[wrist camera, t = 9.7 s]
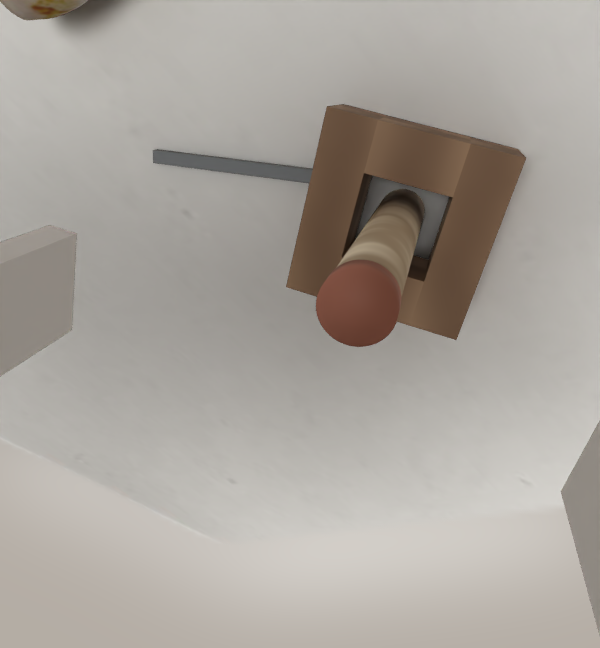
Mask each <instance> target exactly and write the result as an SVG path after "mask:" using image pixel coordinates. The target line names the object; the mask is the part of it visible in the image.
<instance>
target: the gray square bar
mask: <svg viewBox="0 0 600 648" xmlns="http://www.w3.org/2000/svg"><path fill="white" fill-rule="evenodd" d="M153 163H158V164H165V165H173V166H181V167H188V168H196V169H204V170H211V171H219V172H227V173H234V174H242V175H250V176H257V177H265V178H273V179H280V180H288V181H296V182H303V183H310V179H311V175H312V170H313V169H310V168H302V167H294V166H286V165H278V164H270V163H262V162H254V161H246V160H238V159H230V158H222V157H214V156H206V155H198V154H190V153H182V152H174V151H166V150H158V149H157V150H153Z"/></svg>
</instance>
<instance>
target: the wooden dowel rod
mask: <svg viewBox="0 0 600 648" xmlns="http://www.w3.org/2000/svg"><path fill="white" fill-rule="evenodd" d="M424 213H425V209H424V204H423V202H422V200H421V198H420V197H419V196H418V195H417V194H416V193H415V192H413V191H410V190H407V189H398V190H394V191H392V192H390V193H389V194H388V195H386V196H385V198H384V199H383V200H382V202H381V203H380V205H379V206H378V208H377V209H376V211H375V212H374V213H373V215H372V216H371V218H370V219H369V221H368V222H367V224H366V225H365V227H364V228H363V229H362V231H361V232H360V234H359V235H358V237H357V238H356V240H355V241H354V243H353V244H352V246H351V247H350V248H349V250H348V251H347V253H346V254H345V256H344V257H343V259H342V260H341V262H340V263H339V264H338V266H337V267H336V268H335V269H334V270H333V271H332V272H331V274H330V275H329V276H328V278H327V279H326V281H325V282H324V283H323V285H322V286H321V288H320V290H319V292H318V295H317V300H316V311H317V316H318V319H319V321H320V323H321V325H322V327H323V328H324V330H325V331H326V332H327V333H328V334H329V335H330V336H331V337H333V338H334V339H335V340H337V341H339V342H341V343H343V344H346V345H349V346H356V347H363V346H369V345H373V344H376V343H378V342H380V341H381V340H383V339H384V338H385V337H387V336H388V335H389V334H390V332H391V331H392V330H393V328H394V326H395V324H396V321H397V318H398V314H399V311H400V307H401V297H402V294H403V290H404V286H405V283H406V279H407V276H408V272H409V268H410V265H411V261H412V258H413V254H414V250H415V247H416V243H417V240H418V236H419V232H420V229H421V225H422V222H423V218H424Z"/></svg>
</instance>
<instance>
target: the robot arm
mask: <svg viewBox="0 0 600 648" xmlns="http://www.w3.org/2000/svg"><path fill="white" fill-rule="evenodd" d="M76 240H77V233H74V232H70V231H67V230H64V229H61V228H57V227H54V226H51V225H48V226H45V227H43V228H40V229H37V230H34V231H31V232H28V233H25V234H23V235H20V236H17V237H14V238H11V239H8V240H5V241H3V242H0V376H2V375H3V374H5V373H6V372H8V371H9V370H11V369H13V368H14V367H16V366H17V365H19V364H20V363H22V362H23V361H25V360H26V359H28V358H30V357H31V356H33V355H34V354H36V353H37V352H39V351H40V350H42V349H43V348H45V347H47V346H48V345H50V344H51V343H53V342H54V341H56V340H57V339H59V338H60V337H62V336H64V335H65V334H67V333H68V332H70V331H71V330H72V320H73V300H74V280H75V260H76ZM561 494H562V498H563V501H564V505H565V509H566V513H567V516H568V520H569V524H570V527H571V531H572V535H573V539H574V542H575V546H576V550H577V553H578V557H579V561H580V565H581V568H582V572H583V576H584V579H585V583H586V587H587V591H588V594H589V598H590V602H591V605H592V609H593V613H594V617H595V620H596V624H597V628H598V631H599V635H600V421H599V423H598V425H597V426H596V428H595V430H594V432H593V434H592V436H591V437H590V439H589V441H588V443H587V445H586V447H585V448H584V450H583V452H582V454H581V456H580V457H579V459H578V461H577V463H576V465H575V467H574V468H573V470H572V472H571V474H570V476H569V478H568V479H567V481H566V483H565V485H564V487H563V489H562V490H561Z"/></svg>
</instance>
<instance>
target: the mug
mask: <svg viewBox="0 0 600 648" xmlns="http://www.w3.org/2000/svg"><path fill="white" fill-rule="evenodd" d="M87 1H88V0H0V2H1V3H2V4H3V5H4V6H5V7H6V8H7V9H8V10H9V11H11V12H12V13H13V14H15V15H16V16H18V17H20V18H22V19H24V20H37V19H49V18H54V17H58V16H61V15H64V14H66V13H68V12H71V11H73V10H75V9H77V8H78V7H80V6H81V5H83V4H84V3H85V2H87Z"/></svg>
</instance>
